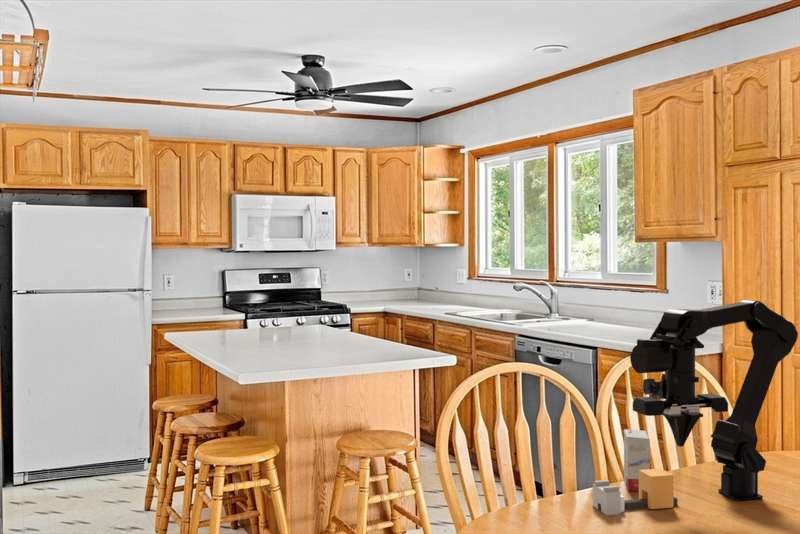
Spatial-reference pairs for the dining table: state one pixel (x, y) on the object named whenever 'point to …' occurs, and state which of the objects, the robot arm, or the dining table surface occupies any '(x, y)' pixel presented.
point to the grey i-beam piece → (607, 497)
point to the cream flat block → (622, 503)
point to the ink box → (635, 456)
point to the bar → (639, 503)
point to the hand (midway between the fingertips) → (680, 446)
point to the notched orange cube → (656, 488)
